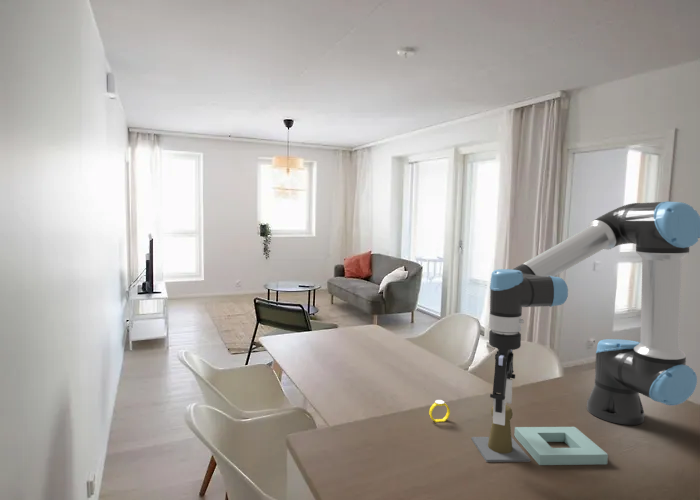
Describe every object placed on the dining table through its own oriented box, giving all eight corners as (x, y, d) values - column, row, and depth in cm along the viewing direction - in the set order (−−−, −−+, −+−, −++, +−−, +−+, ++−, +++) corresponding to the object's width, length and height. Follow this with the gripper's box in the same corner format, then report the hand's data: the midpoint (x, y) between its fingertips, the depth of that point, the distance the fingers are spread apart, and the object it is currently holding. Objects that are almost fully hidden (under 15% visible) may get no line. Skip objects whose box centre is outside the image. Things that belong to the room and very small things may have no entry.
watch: (432, 425, 124) (431, 405, 123) (428, 420, 127) (427, 401, 126) (451, 422, 125) (450, 402, 125) (447, 417, 128) (446, 398, 127)
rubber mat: (511, 438, 116) (511, 436, 116) (530, 461, 105) (530, 459, 105) (471, 439, 116) (471, 436, 116) (486, 462, 105) (486, 459, 105)
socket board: (574, 435, 119) (574, 426, 119) (607, 464, 105) (607, 454, 105) (514, 435, 118) (514, 427, 118) (539, 465, 104) (539, 455, 104)
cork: (516, 447, 111) (518, 405, 110) (506, 456, 106) (509, 413, 106) (493, 438, 115) (495, 398, 114) (483, 447, 110) (485, 405, 110)
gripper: (515, 346, 95) (512, 438, 97) (525, 321, 118) (523, 397, 119) (480, 341, 99) (478, 430, 100) (496, 319, 121) (494, 392, 123)
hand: (502, 412), depth 110 cm, fingers open, 13 cm apart
